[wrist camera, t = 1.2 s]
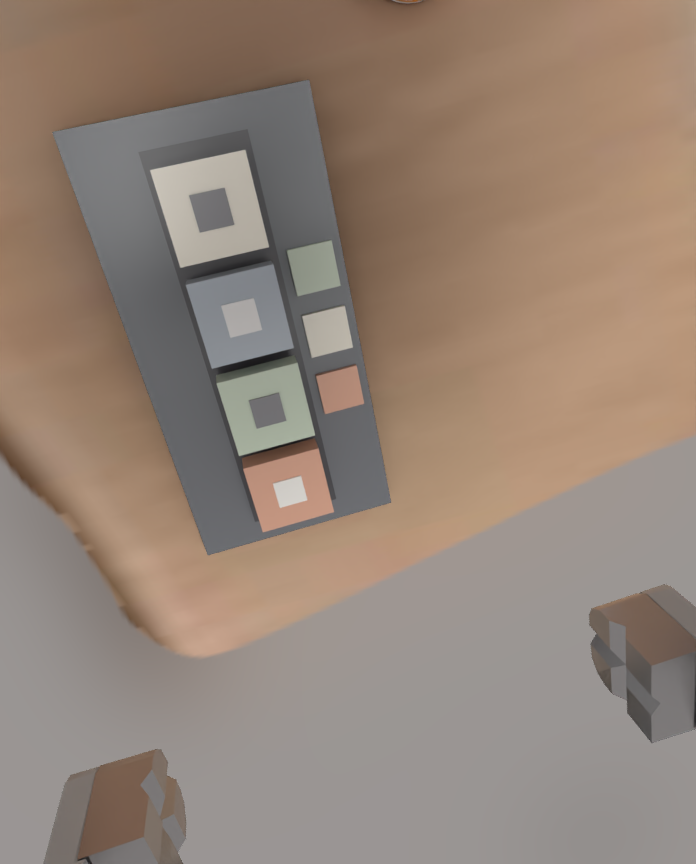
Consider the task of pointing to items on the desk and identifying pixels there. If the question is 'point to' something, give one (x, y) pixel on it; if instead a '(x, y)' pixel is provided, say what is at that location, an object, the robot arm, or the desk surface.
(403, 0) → the pill bottle
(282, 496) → the terracotta key
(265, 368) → the sage key
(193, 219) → the cream key
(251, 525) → the keypad base
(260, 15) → the desk surface
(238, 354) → the slate key
